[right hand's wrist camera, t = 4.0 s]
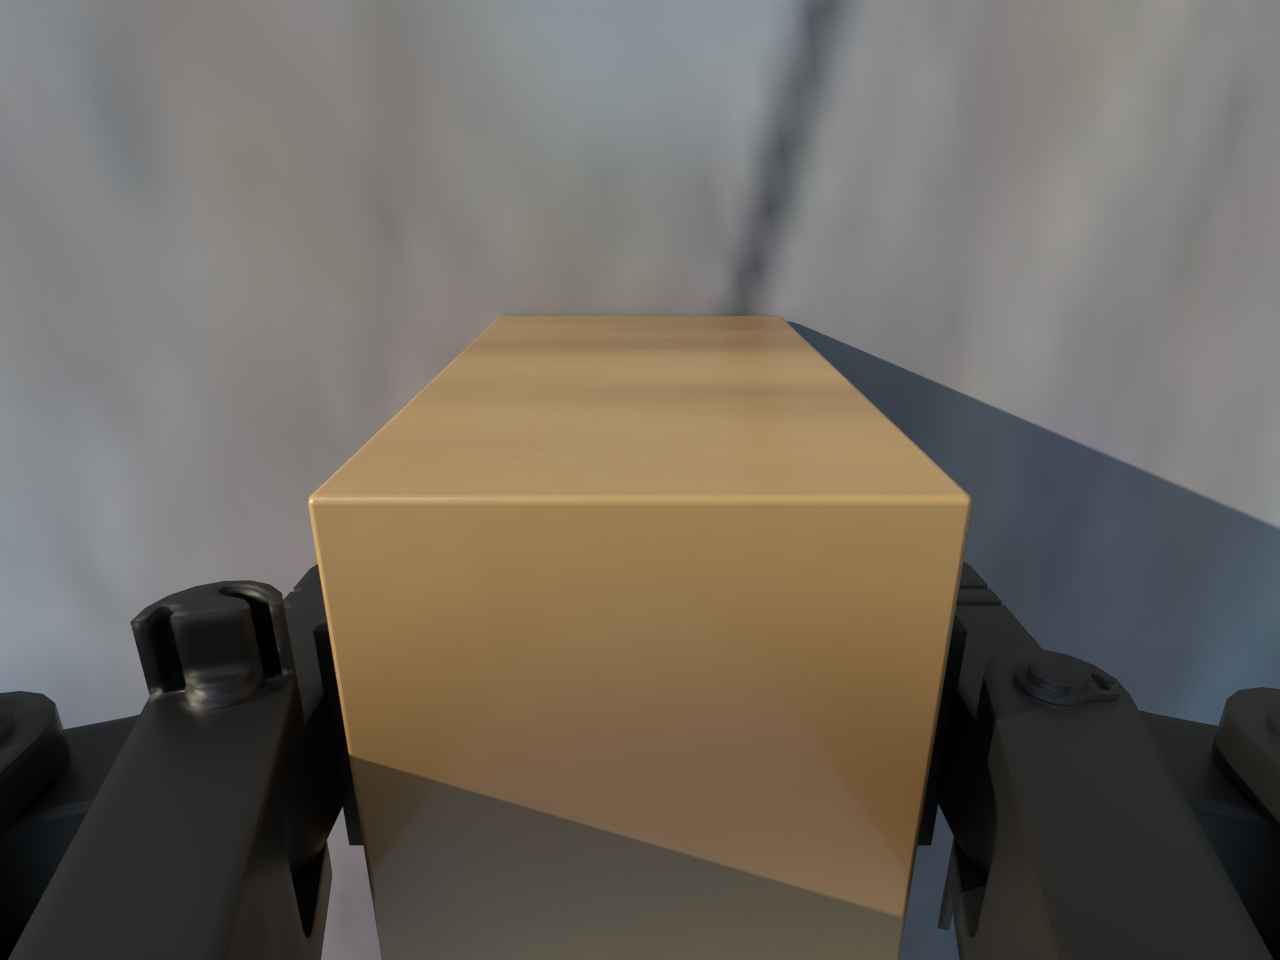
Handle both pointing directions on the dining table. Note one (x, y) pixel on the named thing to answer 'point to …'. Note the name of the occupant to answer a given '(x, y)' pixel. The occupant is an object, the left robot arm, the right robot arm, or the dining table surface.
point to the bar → (640, 647)
